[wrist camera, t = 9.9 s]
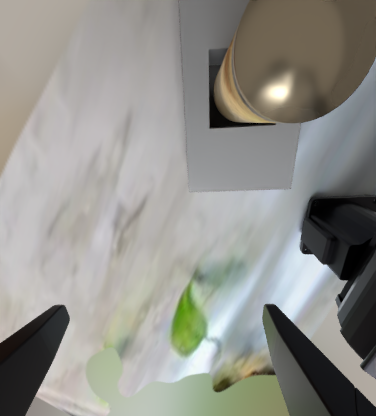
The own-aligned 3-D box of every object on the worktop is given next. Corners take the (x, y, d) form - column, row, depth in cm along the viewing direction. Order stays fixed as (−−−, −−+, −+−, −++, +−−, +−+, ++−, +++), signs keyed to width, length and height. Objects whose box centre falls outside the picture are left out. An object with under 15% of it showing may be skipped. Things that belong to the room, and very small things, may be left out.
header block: (295, -22, 14) (330, -73, 10) (273, 176, 20) (290, 188, 16) (181, -11, 15) (175, -56, 11) (190, 179, 20) (188, 192, 16)
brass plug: (277, 51, 13) (407, -63, 5) (270, 120, 14) (360, 120, 6) (213, 55, 13) (238, -46, 5) (213, 124, 14) (232, 126, 7)
